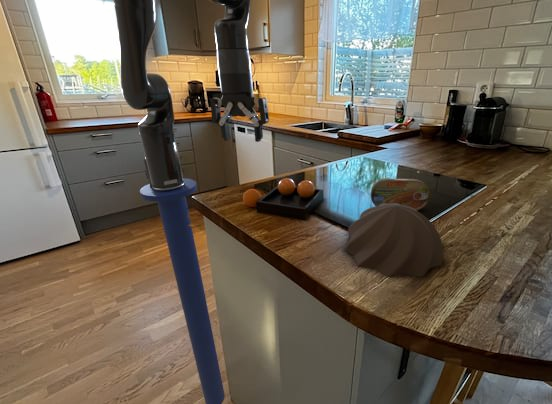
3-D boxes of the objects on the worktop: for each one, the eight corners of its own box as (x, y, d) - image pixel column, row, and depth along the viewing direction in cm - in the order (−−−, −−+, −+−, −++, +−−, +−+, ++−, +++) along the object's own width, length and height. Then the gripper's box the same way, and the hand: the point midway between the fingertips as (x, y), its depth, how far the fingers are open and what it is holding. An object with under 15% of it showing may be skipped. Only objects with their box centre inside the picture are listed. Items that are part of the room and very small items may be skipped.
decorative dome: (424, 292, 50) (433, 241, 46) (326, 253, 61) (327, 209, 57) (453, 243, 64) (462, 200, 60) (370, 219, 75) (372, 181, 71)
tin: (369, 209, 80) (372, 179, 77) (369, 204, 83) (371, 176, 80) (427, 212, 78) (432, 182, 75) (425, 207, 81) (430, 178, 78)
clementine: (240, 208, 81) (238, 191, 79) (250, 201, 86) (248, 185, 84) (256, 211, 80) (254, 194, 78) (265, 204, 84) (264, 187, 82)
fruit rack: (256, 212, 79) (254, 189, 77) (280, 193, 91) (279, 173, 89) (305, 220, 75) (304, 196, 72) (323, 199, 87) (323, 178, 84)
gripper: (269, 71, 71) (273, 138, 78) (215, 72, 74) (224, 137, 81) (257, 71, 65) (263, 145, 71) (199, 72, 68) (209, 143, 74)
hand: (242, 140), depth 76 cm, fingers open, 8 cm apart
